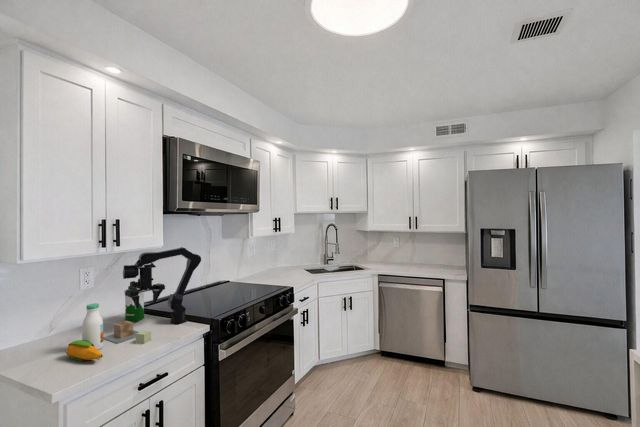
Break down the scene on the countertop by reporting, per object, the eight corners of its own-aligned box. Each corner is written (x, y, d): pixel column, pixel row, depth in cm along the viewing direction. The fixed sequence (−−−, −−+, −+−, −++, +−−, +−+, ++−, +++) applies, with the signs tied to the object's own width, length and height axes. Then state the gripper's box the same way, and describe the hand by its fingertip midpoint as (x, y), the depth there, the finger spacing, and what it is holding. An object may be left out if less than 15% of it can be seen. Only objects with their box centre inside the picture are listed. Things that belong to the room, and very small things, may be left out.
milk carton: (122, 322, 180) (122, 287, 180) (133, 317, 189) (133, 283, 189) (137, 323, 179) (136, 287, 179) (147, 317, 188) (147, 283, 188)
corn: (79, 334, 141) (109, 341, 133) (80, 351, 142) (111, 359, 134) (60, 342, 134) (91, 349, 127) (61, 359, 135) (92, 368, 127)
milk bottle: (96, 352, 141) (96, 306, 141) (78, 352, 140) (77, 307, 140) (107, 345, 149) (106, 301, 149) (89, 345, 148) (89, 302, 148)
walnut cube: (126, 332, 163) (126, 320, 163) (133, 334, 160) (133, 322, 160) (113, 336, 158) (113, 324, 158) (120, 338, 155) (120, 326, 155)
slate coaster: (129, 330, 168) (129, 329, 168) (144, 334, 161) (144, 333, 161) (102, 338, 157) (102, 337, 157) (117, 343, 150) (117, 342, 150)
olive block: (142, 339, 155) (142, 330, 155) (150, 340, 154) (150, 331, 154) (135, 343, 150) (135, 334, 150) (144, 344, 150) (144, 334, 150)
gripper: (153, 272, 182) (153, 300, 182) (119, 278, 166) (119, 308, 166) (165, 274, 176) (165, 302, 176) (131, 280, 160) (131, 311, 160)
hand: (145, 306), depth 170 cm, fingers open, 9 cm apart
